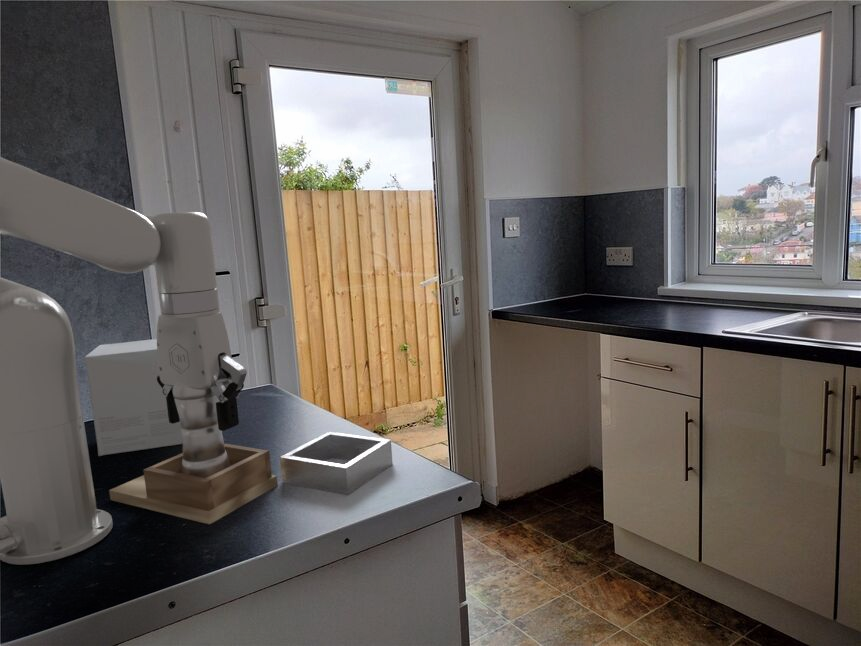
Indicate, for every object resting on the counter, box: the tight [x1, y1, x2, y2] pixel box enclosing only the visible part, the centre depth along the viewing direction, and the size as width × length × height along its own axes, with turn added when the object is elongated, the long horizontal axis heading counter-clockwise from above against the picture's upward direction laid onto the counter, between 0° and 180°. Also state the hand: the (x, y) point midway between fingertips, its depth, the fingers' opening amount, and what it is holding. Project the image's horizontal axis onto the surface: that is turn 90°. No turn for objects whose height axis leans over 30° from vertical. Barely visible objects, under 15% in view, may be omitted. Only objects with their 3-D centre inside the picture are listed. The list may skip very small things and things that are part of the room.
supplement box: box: [84, 338, 183, 457], centre depth 116 cm, size 17×13×18 cm
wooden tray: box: [108, 442, 278, 525], centre depth 91 cm, size 13×20×6 cm, turn 62°
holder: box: [279, 431, 394, 496], centre depth 95 cm, size 12×12×4 cm
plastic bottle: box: [173, 378, 230, 478], centre depth 88 cm, size 6×7×20 cm
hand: (203, 424), depth 88 cm, fingers open, 9 cm apart
